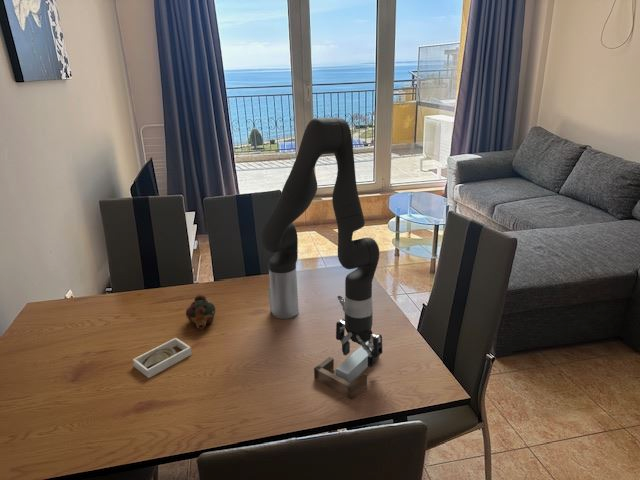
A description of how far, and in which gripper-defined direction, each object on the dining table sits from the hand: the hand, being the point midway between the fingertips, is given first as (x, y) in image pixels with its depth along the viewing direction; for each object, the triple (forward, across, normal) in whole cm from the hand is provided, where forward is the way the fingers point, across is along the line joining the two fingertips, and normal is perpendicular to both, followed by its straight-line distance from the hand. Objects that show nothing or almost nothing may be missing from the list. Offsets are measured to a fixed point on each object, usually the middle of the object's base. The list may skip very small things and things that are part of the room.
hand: (358, 359), depth 125 cm
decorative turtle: (+3, -56, -14) cm, 58 cm away
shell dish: (+3, -47, -34) cm, 58 cm away
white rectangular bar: (+3, 0, 0) cm, 3 cm away
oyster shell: (+3, -46, -35) cm, 58 cm away
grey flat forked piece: (+3, -20, +24) cm, 32 cm away
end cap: (+3, 0, -8) cm, 8 cm away
